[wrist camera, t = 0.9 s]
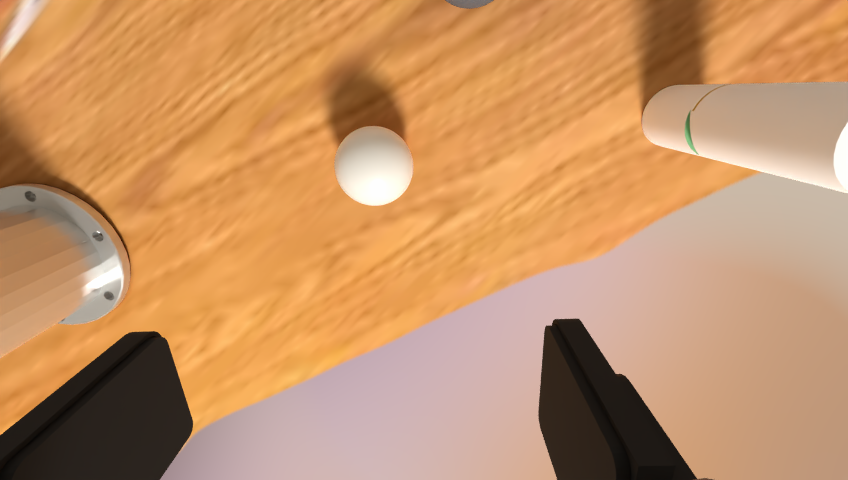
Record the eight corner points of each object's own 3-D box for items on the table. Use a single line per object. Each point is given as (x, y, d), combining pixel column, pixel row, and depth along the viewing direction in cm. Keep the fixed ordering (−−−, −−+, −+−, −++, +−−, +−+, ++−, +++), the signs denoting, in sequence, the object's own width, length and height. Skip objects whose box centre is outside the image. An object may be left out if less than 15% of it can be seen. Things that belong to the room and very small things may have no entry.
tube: (662, 75, 28) (892, 61, 14) (715, 98, 28) (989, 106, 14) (630, 134, 29) (808, 175, 15) (680, 154, 30) (898, 213, 16)
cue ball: (363, 205, 32) (349, 227, 27) (331, 140, 30) (309, 151, 25) (426, 178, 31) (424, 196, 26) (396, 110, 29) (388, 115, 24)
